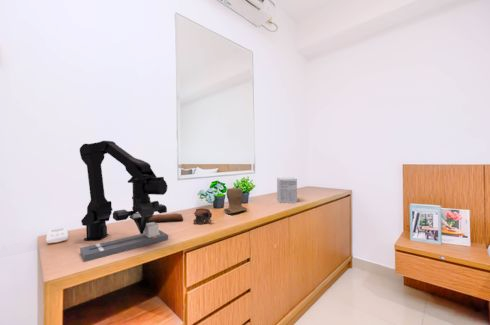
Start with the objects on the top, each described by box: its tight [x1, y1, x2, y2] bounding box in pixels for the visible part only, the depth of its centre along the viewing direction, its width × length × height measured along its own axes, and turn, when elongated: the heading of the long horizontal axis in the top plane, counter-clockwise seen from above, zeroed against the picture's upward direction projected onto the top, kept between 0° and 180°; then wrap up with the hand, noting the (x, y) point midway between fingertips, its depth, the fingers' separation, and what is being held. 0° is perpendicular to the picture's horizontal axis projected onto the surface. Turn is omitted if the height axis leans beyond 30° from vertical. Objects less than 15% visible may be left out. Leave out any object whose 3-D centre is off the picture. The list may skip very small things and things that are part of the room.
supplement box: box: [276, 177, 298, 204], centre depth 171 cm, size 13×13×18 cm
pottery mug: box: [193, 208, 213, 225], centre depth 116 cm, size 12×10×8 cm
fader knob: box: [143, 222, 160, 238], centre depth 91 cm, size 4×6×4 cm
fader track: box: [79, 229, 169, 262], centre depth 85 cm, size 28×9×2 cm, turn 133°
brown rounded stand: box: [223, 187, 248, 215], centre depth 138 cm, size 15×12×15 cm
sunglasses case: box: [146, 212, 184, 224], centre depth 120 cm, size 18×7×7 cm
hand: (141, 233), depth 89 cm, fingers closed
